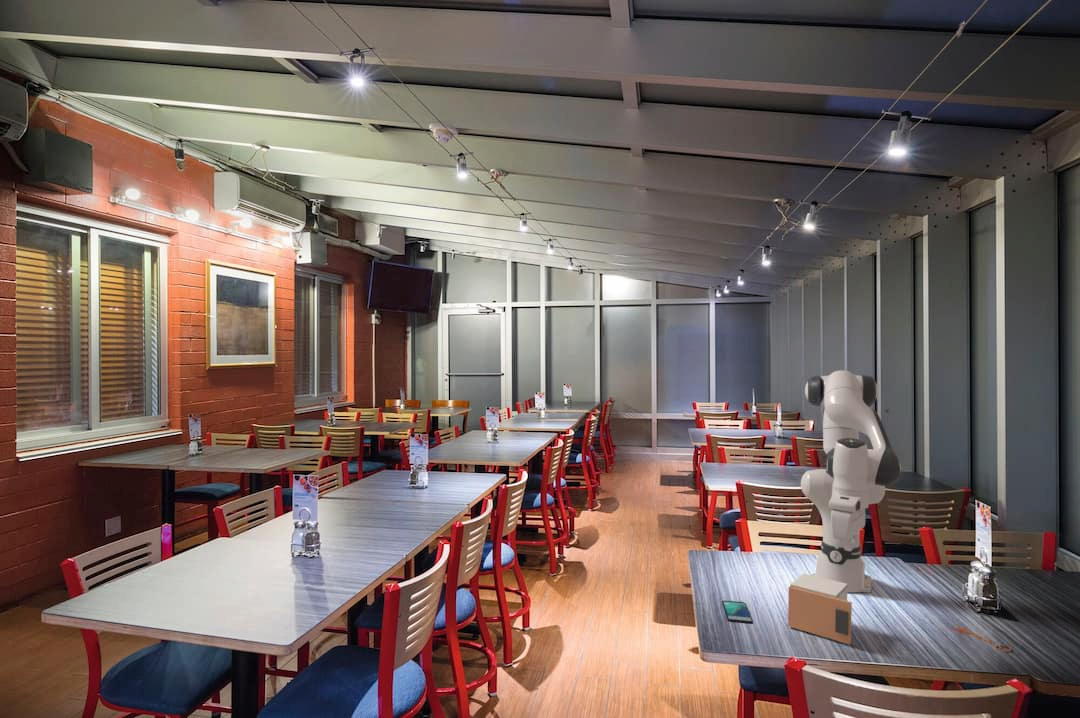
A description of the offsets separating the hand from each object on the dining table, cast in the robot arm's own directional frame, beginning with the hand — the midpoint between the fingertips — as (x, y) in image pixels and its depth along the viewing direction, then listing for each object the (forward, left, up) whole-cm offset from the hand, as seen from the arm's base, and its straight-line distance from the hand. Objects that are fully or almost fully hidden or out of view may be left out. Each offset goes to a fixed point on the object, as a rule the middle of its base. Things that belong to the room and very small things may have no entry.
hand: (849, 549), depth 162 cm
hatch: (+4, -7, -24) cm, 25 cm away
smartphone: (+3, -30, -25) cm, 39 cm away
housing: (-4, -9, -25) cm, 26 cm away
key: (-26, +27, -25) cm, 45 cm away
